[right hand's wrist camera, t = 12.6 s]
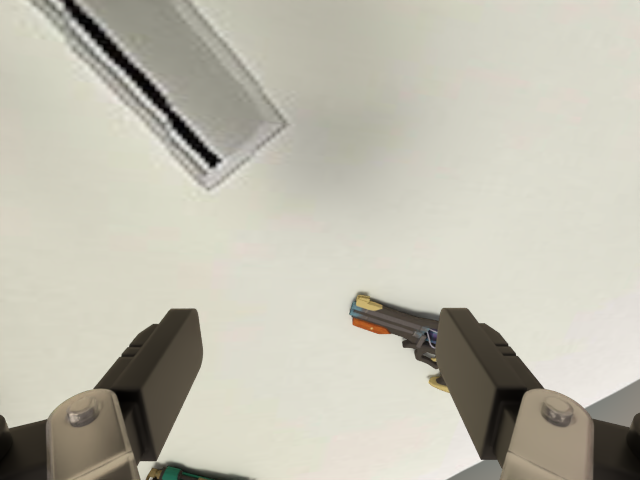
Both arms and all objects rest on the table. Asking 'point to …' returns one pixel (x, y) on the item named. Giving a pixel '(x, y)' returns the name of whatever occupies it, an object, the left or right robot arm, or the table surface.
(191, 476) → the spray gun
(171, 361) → the right robot arm
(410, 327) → the toy gun
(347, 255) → the table surface
